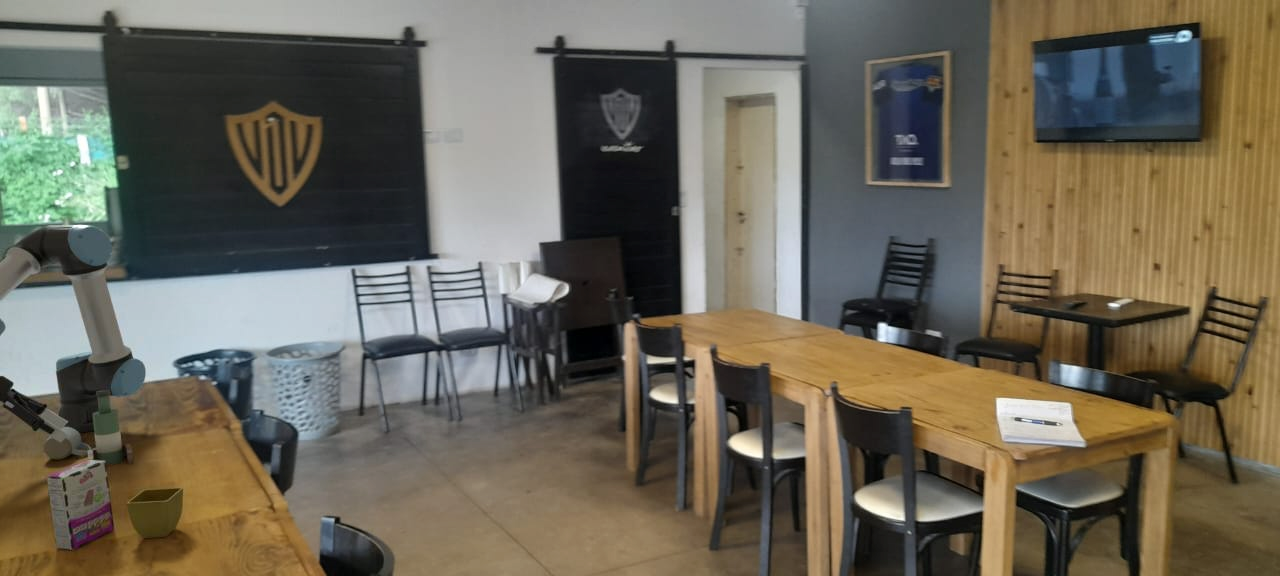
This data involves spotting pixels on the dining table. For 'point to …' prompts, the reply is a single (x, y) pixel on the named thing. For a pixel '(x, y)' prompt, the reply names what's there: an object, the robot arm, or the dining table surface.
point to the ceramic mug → (65, 445)
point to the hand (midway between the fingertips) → (64, 432)
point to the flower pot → (156, 511)
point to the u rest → (125, 451)
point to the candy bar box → (80, 504)
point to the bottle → (107, 430)
